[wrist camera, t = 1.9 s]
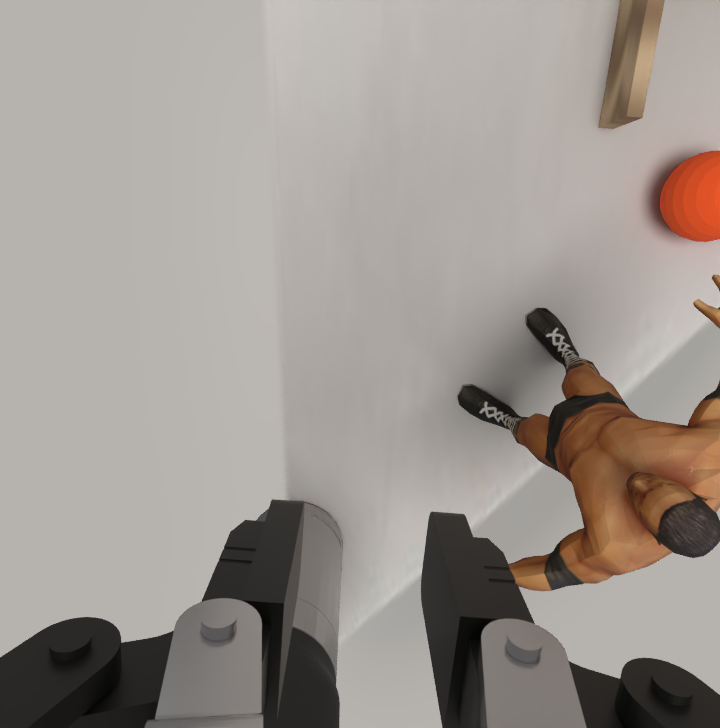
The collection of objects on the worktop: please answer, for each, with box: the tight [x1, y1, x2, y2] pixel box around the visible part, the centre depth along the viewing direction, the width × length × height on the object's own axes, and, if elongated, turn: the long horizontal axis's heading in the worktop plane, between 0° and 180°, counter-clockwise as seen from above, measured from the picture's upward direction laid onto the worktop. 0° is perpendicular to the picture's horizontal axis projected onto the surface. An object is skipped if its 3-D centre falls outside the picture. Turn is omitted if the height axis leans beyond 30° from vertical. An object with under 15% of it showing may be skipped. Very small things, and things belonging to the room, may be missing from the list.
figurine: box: [458, 275, 720, 591], centre depth 37 cm, size 24×6×30 cm, turn 141°
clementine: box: [660, 151, 720, 242], centre depth 45 cm, size 8×7×7 cm
